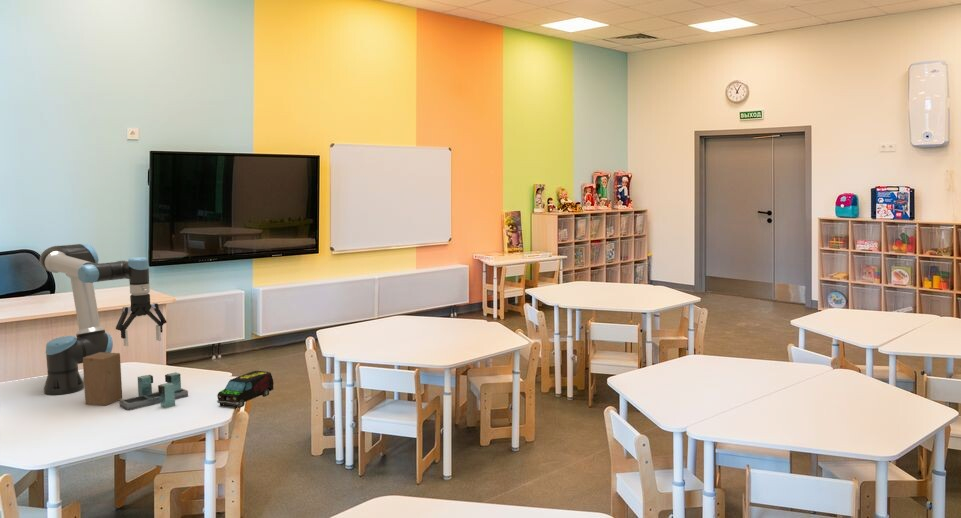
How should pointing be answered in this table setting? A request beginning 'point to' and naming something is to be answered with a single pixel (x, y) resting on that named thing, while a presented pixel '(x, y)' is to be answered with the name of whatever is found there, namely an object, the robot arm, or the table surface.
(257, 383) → the toy van
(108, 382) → the wooden block
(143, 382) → the teal rectangular block
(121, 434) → the table surface
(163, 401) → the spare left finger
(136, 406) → the rail
